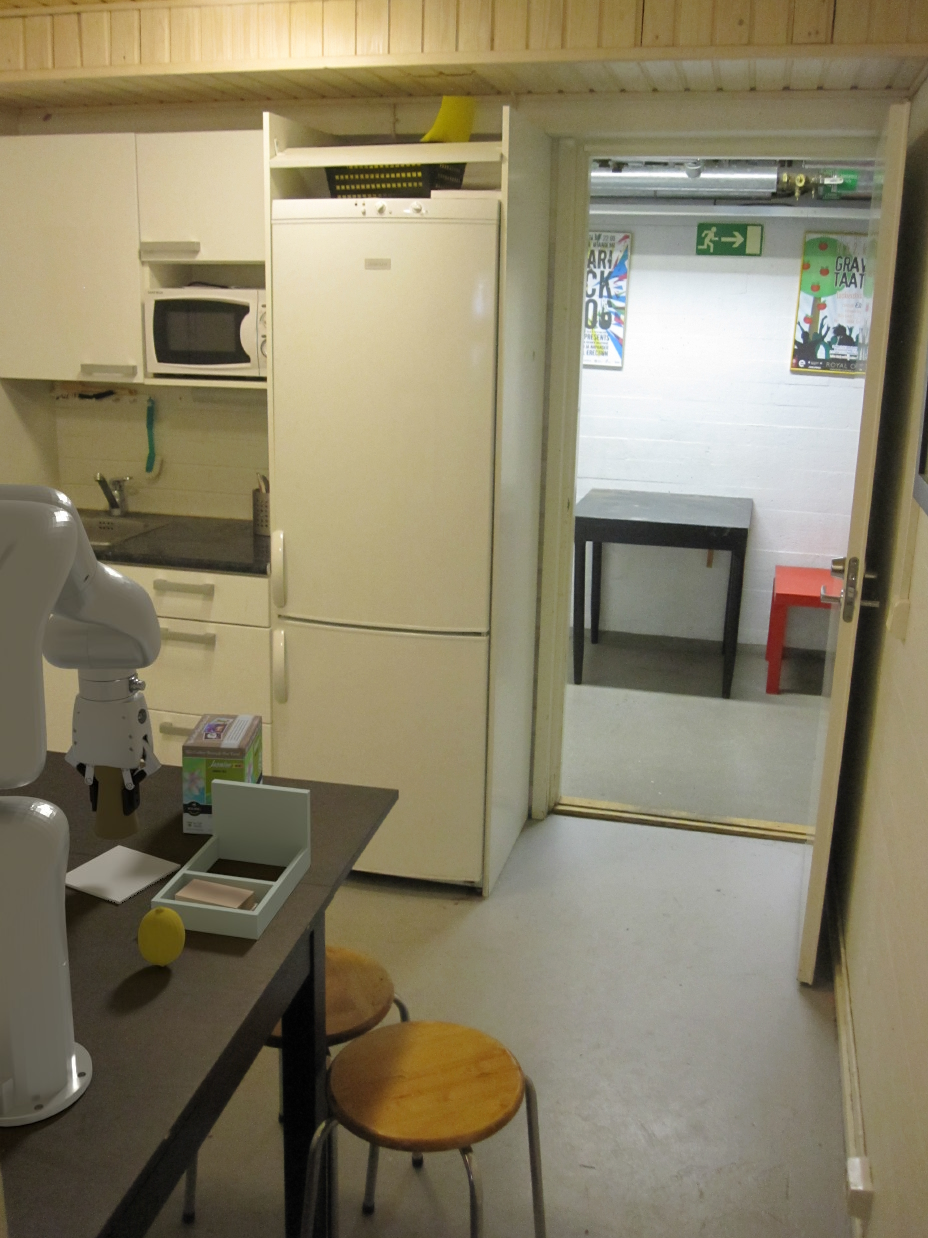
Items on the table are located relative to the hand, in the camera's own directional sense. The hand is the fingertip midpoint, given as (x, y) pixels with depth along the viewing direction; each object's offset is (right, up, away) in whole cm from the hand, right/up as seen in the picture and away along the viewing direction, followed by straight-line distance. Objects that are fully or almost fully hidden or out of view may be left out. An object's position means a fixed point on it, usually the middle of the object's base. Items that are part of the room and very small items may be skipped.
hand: (115, 808), depth 150 cm
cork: (0, -3, +1) cm, 3 cm away
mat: (0, -10, +3) cm, 10 cm away
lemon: (+12, -16, -19) cm, 27 cm away
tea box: (+10, -5, +22) cm, 25 cm away
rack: (+17, -12, -2) cm, 21 cm away
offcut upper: (+16, -12, -8) cm, 21 cm away
